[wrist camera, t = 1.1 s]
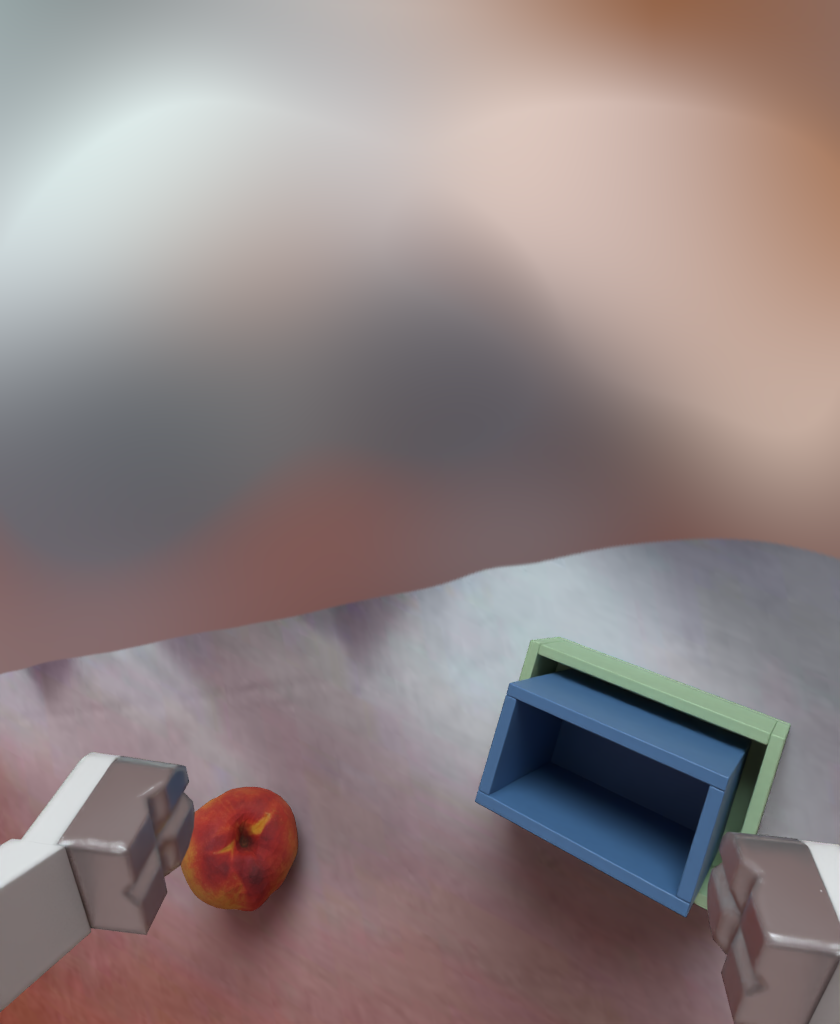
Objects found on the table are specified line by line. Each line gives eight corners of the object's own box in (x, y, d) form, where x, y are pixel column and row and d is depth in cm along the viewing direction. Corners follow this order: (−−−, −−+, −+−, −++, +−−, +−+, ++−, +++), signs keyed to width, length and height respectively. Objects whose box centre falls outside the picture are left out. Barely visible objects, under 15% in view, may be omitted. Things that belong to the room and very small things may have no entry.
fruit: (326, 894, 48) (242, 942, 41) (241, 886, 52) (152, 929, 45) (316, 775, 50) (233, 802, 43) (235, 777, 54) (147, 802, 47)
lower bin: (790, 724, 35) (785, 739, 31) (740, 887, 35) (728, 922, 32) (558, 636, 42) (530, 639, 38) (518, 774, 42) (485, 792, 38)
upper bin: (752, 740, 35) (729, 777, 28) (718, 851, 36) (686, 918, 28) (570, 667, 41) (509, 682, 33) (541, 764, 41) (474, 801, 33)
